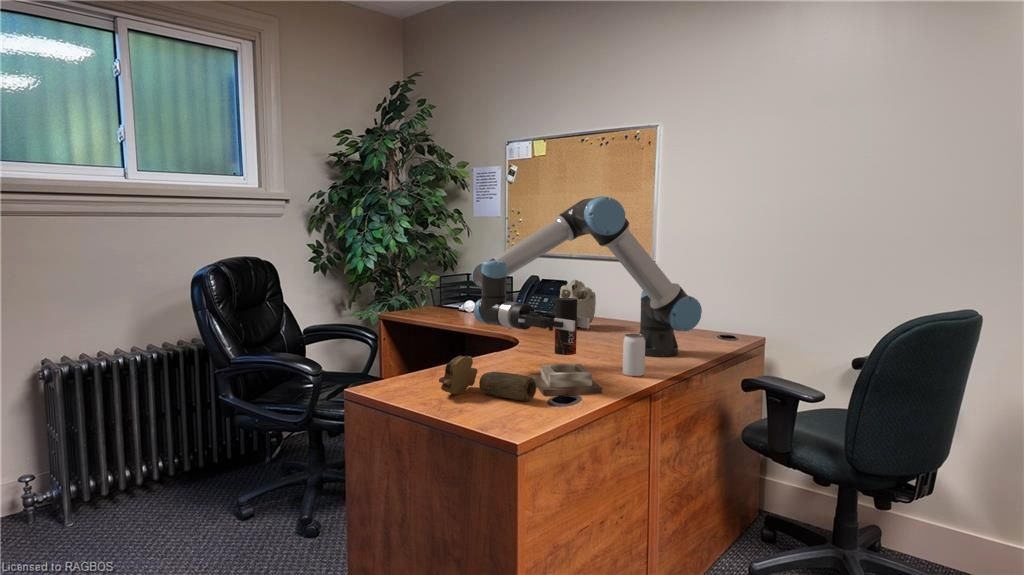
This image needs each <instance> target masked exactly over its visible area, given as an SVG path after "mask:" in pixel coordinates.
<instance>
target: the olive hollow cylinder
mask: <svg viewBox="0 0 1024 575" xmlns="http://www.w3.org/2000/svg"><path fill="white" fill-rule="evenodd" d="M478 385H479V389H480V391H481V392H483V393H484V394H487V395H489V396H493V397H498V398H501V399H502V398H503V399H509V400H514V401H515V400H516V401H526V402H528V401H532V399H533V398H535V395H536V393H537V387H536V382H535V380H534V379H533V378H532V376H528V375H524V374H520V373H519V374H518V373H511V372H502V371H488V372H486V373H483V374H482V375H481V377H480V378H479V384H478Z"/></svg>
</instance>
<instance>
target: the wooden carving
mask: <svg viewBox="0 0 1024 575" xmlns="http://www.w3.org/2000/svg"><path fill="white" fill-rule="evenodd" d="M473 363H474V362H473V357H472V356H469V355H464V356H463V355H458V356H456V357H454V358H452V359H451V360H450V361H449V362H447V364H446V365H445V369H444V375H443V376H442V377H440V378H438V382H439V383H441V384H442V385H441V387H440V389H441V390H442V391H443V392H446V393H450V394H452V395H455V396H457V395H458V394H459V395H461V394H462V392H463V393H464V392H465V391H466V390H467V388H469V386H470V387H472V386H474V384H475V382H476V377H477V374H478V369H477V368H476V367H473ZM460 393H461V394H460Z"/></svg>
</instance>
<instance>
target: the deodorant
mask: <svg viewBox="0 0 1024 575" xmlns="http://www.w3.org/2000/svg"><path fill="white" fill-rule="evenodd" d="M554 313H555V318H558V319H565V320H573V321H575V331H569V330H562V329H555V328H554V354H556V355H559V356H572V355H573V356H574V355H576V354H577V331H578V330H577V329H578V328H577V299H575V298H560V297H557V298H555V312H554Z"/></svg>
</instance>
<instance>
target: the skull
mask: <svg viewBox="0 0 1024 575" xmlns="http://www.w3.org/2000/svg"><path fill="white" fill-rule="evenodd" d="M559 292H560V293H559V294H560V295H559V298H575V299H577V317H583V318H590V319H589V325H590V324H591V323H592V322H593V321H594V318H595V314H596V306H597V303H596V293H595V291H593V290H592V289H591V288H590V287H589V286H588V287H586V286H585V284H584V282H582V281H579V280H577V279H572V280H571V281H570V283H568V284H566V285H565V284H564V285H562V286H561V287H560V290H559Z"/></svg>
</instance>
